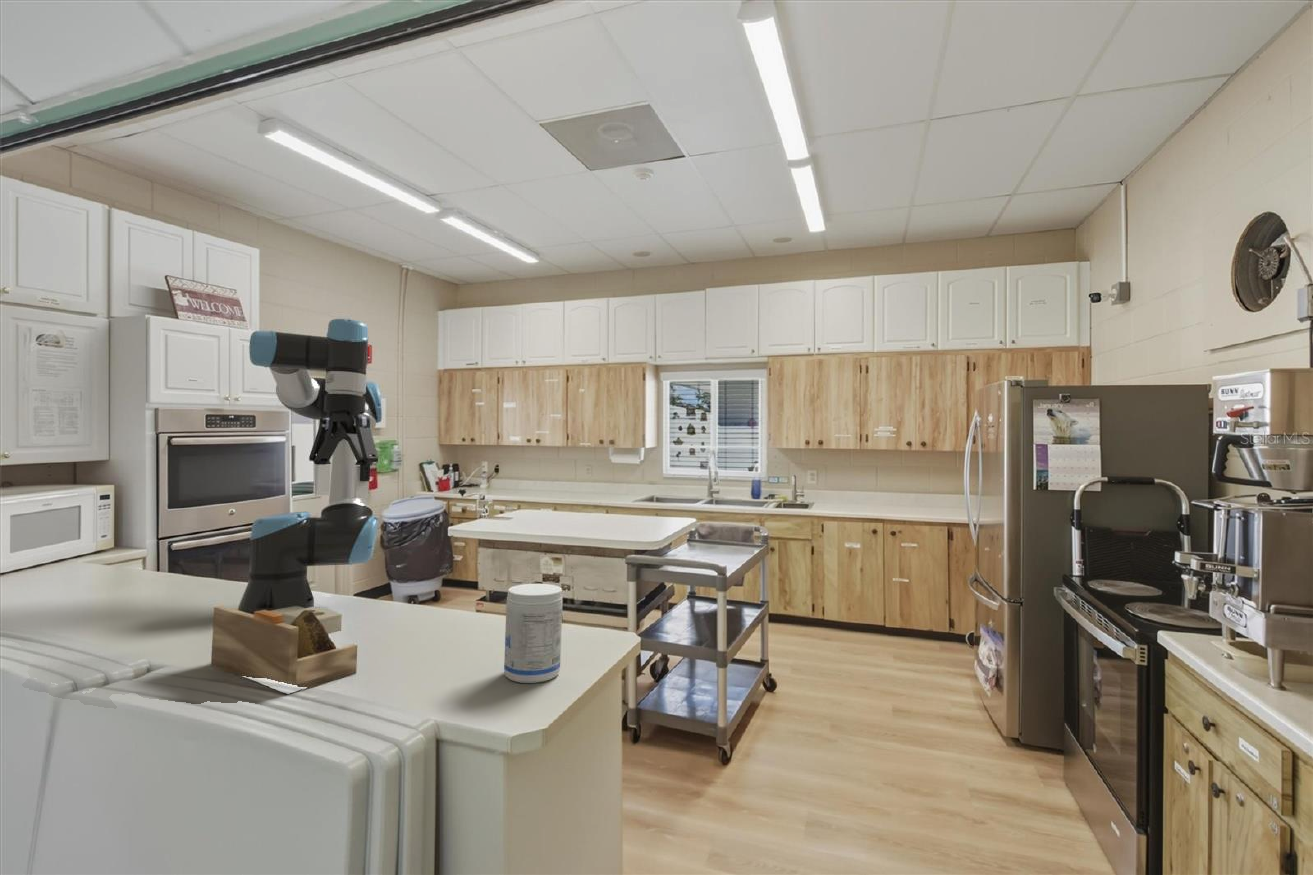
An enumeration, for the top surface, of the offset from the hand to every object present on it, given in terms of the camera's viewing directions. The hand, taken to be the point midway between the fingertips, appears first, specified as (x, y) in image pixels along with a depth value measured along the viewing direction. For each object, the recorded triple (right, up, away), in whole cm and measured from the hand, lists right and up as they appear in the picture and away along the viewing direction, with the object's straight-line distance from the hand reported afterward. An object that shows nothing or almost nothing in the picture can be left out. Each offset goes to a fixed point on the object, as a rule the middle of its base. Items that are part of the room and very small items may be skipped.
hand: (340, 496), depth 122 cm
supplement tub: (+44, -29, -20) cm, 56 cm away
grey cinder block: (-11, -29, +5) cm, 32 cm away
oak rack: (+1, -28, -20) cm, 34 cm away
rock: (+5, -27, -22) cm, 35 cm away
